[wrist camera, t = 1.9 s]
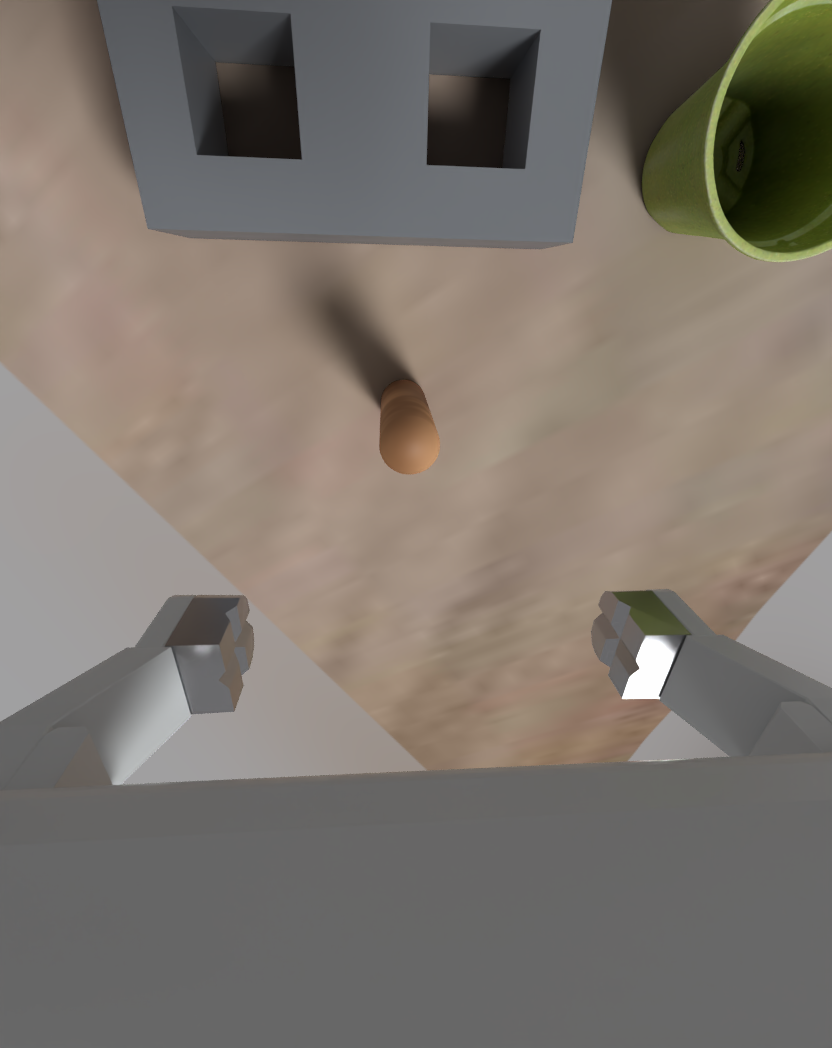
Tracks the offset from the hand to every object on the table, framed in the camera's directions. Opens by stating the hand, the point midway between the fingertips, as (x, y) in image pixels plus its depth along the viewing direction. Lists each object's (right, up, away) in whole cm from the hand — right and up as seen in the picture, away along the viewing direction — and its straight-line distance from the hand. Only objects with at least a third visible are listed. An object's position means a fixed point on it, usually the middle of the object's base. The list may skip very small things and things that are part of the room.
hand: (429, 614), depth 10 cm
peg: (-1, +10, +20) cm, 22 cm away
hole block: (-3, +22, +13) cm, 26 cm away
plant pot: (+15, +22, +15) cm, 30 cm away
